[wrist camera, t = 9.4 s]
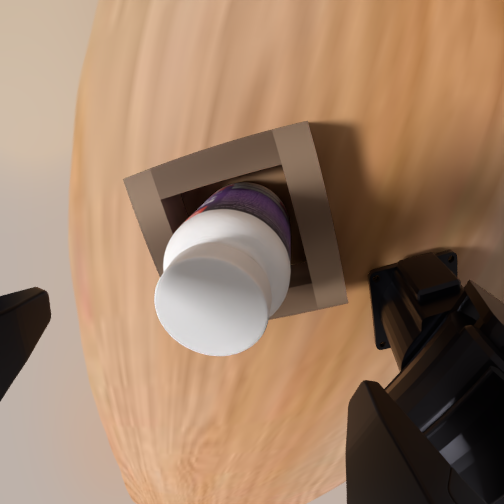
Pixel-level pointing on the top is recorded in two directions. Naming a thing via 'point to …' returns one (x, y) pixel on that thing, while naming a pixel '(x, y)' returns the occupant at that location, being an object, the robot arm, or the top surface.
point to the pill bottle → (226, 271)
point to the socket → (239, 163)
